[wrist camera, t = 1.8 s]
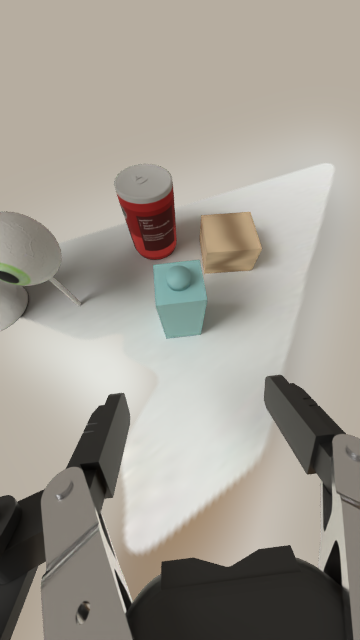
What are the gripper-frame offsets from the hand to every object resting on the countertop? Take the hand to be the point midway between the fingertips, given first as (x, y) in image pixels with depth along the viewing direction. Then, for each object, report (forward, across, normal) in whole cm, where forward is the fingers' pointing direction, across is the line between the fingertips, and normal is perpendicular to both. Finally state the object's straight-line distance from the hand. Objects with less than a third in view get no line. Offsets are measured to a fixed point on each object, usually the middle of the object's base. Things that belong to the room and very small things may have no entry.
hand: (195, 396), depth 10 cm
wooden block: (+26, -9, -6) cm, 29 cm away
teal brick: (+18, 0, +2) cm, 18 cm away
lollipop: (+21, +16, -1) cm, 27 cm away
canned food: (+29, +3, -9) cm, 31 cm away
